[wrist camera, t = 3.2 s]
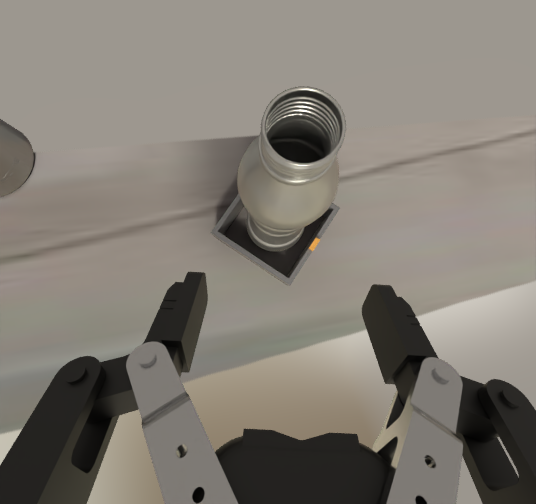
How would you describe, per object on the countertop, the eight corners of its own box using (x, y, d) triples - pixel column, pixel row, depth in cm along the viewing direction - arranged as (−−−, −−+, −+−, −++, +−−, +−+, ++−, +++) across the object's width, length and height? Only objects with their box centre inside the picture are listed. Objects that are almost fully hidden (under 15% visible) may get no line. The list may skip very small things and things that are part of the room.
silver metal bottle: (312, 222, 31) (411, 113, 11) (277, 265, 30) (316, 234, 10) (270, 189, 31) (293, 26, 11) (235, 231, 30) (192, 136, 10)
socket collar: (216, 238, 30) (210, 231, 26) (262, 171, 31) (263, 156, 27) (286, 284, 30) (290, 285, 26) (330, 216, 31) (341, 206, 27)
